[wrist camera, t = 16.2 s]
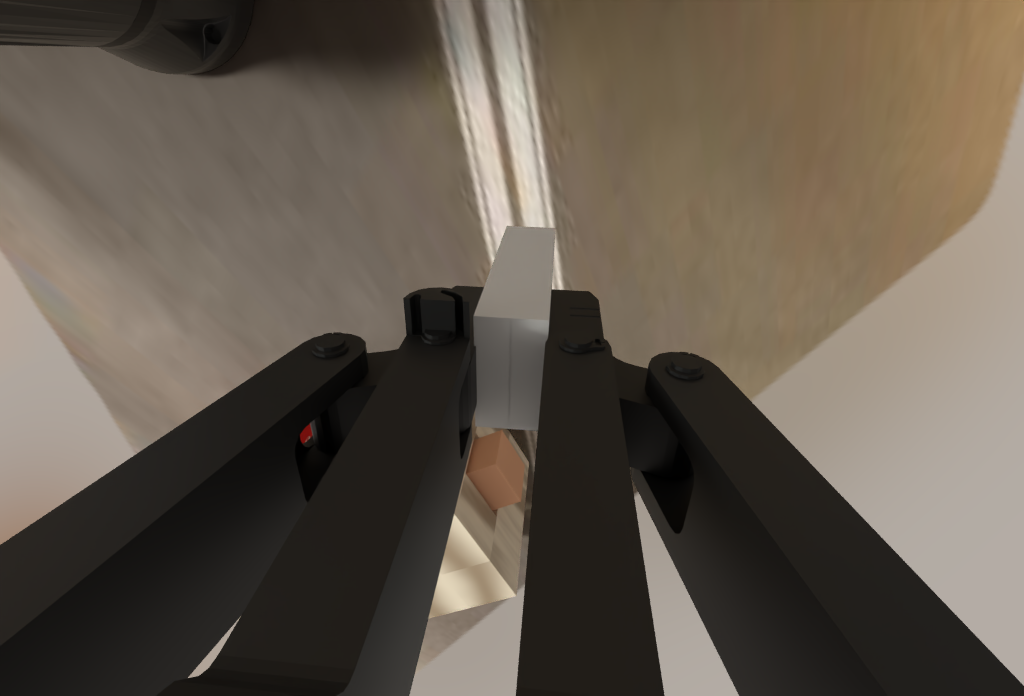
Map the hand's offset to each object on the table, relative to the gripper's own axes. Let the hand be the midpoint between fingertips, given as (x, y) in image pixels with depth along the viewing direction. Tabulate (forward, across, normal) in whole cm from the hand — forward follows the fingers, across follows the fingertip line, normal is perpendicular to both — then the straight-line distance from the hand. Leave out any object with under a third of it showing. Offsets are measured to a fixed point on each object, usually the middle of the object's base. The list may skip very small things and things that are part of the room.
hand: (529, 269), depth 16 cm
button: (+25, -5, -30) cm, 39 cm away
